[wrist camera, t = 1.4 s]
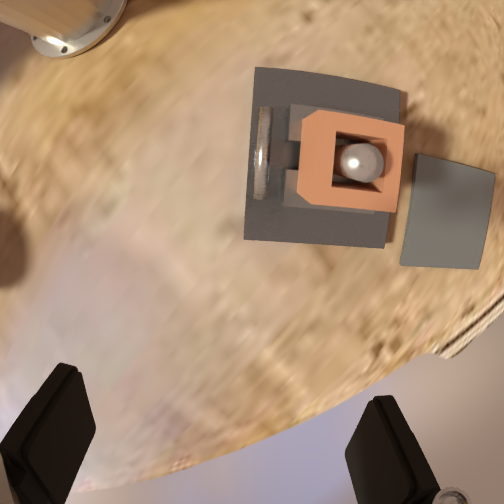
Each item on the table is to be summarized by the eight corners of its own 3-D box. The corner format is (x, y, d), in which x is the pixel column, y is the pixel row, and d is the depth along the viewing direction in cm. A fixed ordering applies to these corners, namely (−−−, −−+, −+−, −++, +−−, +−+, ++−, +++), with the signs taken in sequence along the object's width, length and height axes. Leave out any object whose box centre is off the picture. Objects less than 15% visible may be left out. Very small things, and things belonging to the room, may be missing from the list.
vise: (254, 71, 26) (259, 25, 15) (393, 92, 27) (458, 71, 16) (243, 235, 31) (242, 281, 20) (378, 244, 32) (434, 288, 21)
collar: (302, 119, 24) (318, 109, 18) (372, 129, 24) (404, 125, 18) (296, 192, 25) (311, 204, 20) (365, 199, 26) (395, 212, 20)
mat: (415, 153, 29) (418, 153, 28) (492, 173, 29) (495, 173, 28) (399, 263, 32) (401, 265, 32) (475, 267, 33) (478, 269, 32)
